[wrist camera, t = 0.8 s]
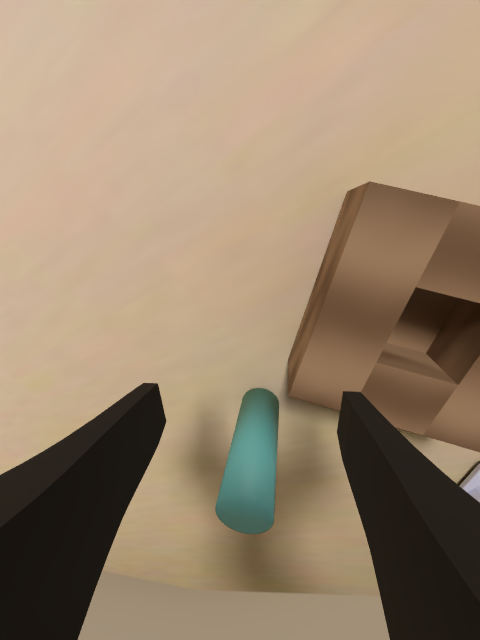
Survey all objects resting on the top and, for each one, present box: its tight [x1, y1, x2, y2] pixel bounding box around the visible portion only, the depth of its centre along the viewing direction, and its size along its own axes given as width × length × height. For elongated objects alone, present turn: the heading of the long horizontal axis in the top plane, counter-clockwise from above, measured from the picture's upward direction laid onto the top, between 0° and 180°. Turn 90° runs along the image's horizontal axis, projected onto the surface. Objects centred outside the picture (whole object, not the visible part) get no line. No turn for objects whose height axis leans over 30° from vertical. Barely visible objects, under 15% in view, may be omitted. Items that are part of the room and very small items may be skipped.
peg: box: [215, 388, 279, 534], centre depth 18 cm, size 3×3×9 cm
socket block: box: [289, 182, 480, 452], centre depth 15 cm, size 12×12×4 cm
